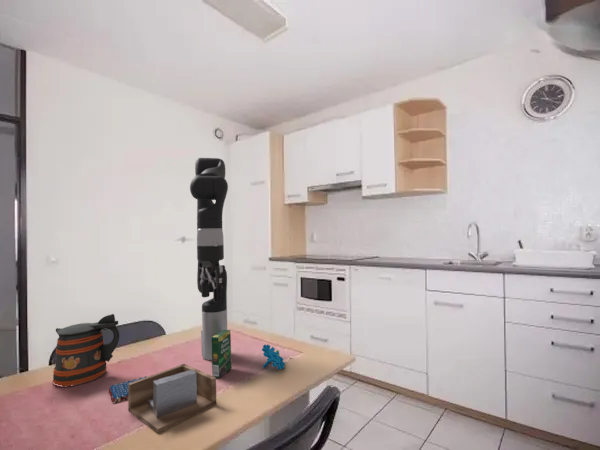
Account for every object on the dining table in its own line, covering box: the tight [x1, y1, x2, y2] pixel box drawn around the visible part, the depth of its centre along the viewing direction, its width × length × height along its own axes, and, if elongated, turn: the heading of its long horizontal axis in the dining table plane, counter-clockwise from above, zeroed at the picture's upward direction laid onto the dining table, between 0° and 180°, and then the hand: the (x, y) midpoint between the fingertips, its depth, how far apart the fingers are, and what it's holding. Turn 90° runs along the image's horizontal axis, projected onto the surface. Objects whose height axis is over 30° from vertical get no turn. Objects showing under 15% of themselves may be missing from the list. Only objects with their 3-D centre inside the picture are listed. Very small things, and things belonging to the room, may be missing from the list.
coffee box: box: [211, 329, 233, 379], centre depth 105 cm, size 8×3×13 cm, turn 162°
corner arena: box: [127, 363, 217, 434], centre depth 85 cm, size 16×16×7 cm
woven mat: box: [108, 376, 148, 404], centre depth 94 cm, size 10×11×2 cm
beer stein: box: [52, 313, 120, 386], centre depth 106 cm, size 19×15×20 cm
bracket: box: [148, 370, 197, 418], centre depth 84 cm, size 10×8×8 cm
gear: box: [261, 344, 286, 371], centre depth 109 cm, size 11×6×10 cm
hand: (211, 299), depth 93 cm, fingers open, 8 cm apart
